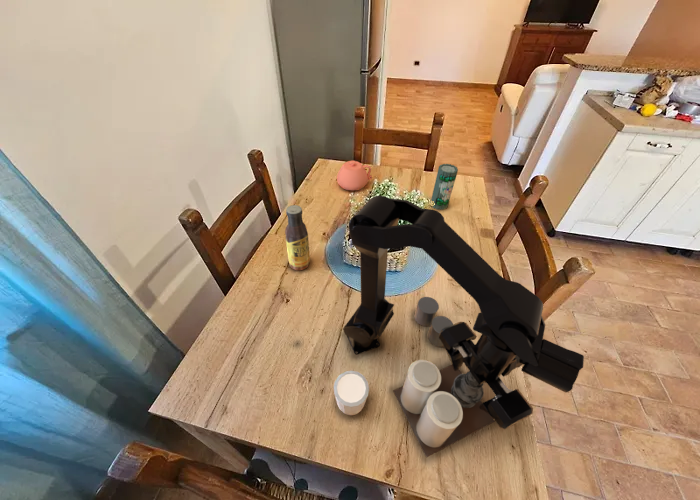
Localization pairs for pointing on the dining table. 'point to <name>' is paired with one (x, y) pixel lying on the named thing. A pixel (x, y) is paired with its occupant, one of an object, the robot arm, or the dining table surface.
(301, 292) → the dining table surface
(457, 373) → the walnut board
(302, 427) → the dining table surface
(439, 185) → the can
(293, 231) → the sauce bottle
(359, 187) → the sugar bowl
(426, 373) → the white shaker back
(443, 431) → the white shaker front
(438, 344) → the grey jar
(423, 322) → the grey jar
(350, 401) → the white candle jar
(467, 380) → the grey chess piece
